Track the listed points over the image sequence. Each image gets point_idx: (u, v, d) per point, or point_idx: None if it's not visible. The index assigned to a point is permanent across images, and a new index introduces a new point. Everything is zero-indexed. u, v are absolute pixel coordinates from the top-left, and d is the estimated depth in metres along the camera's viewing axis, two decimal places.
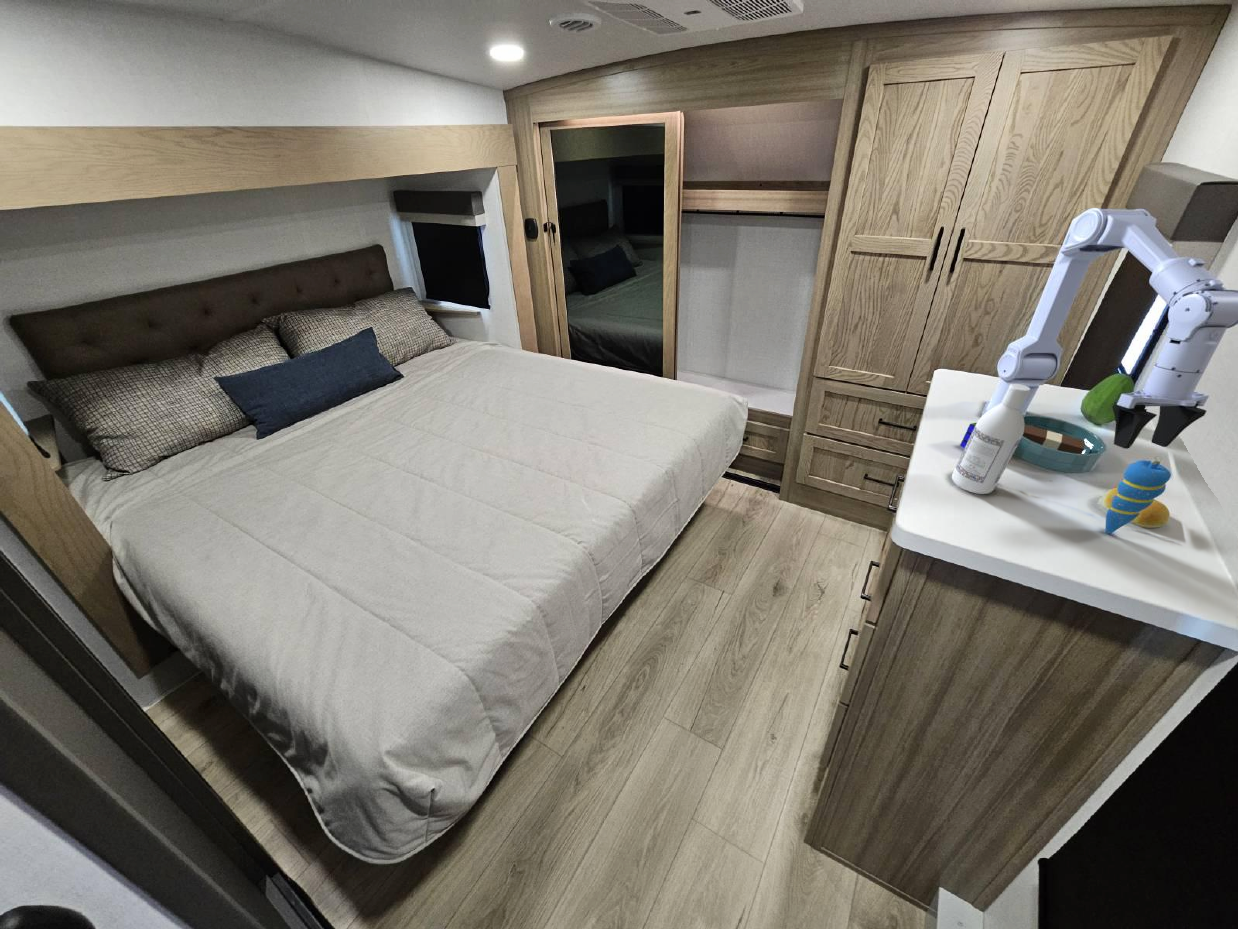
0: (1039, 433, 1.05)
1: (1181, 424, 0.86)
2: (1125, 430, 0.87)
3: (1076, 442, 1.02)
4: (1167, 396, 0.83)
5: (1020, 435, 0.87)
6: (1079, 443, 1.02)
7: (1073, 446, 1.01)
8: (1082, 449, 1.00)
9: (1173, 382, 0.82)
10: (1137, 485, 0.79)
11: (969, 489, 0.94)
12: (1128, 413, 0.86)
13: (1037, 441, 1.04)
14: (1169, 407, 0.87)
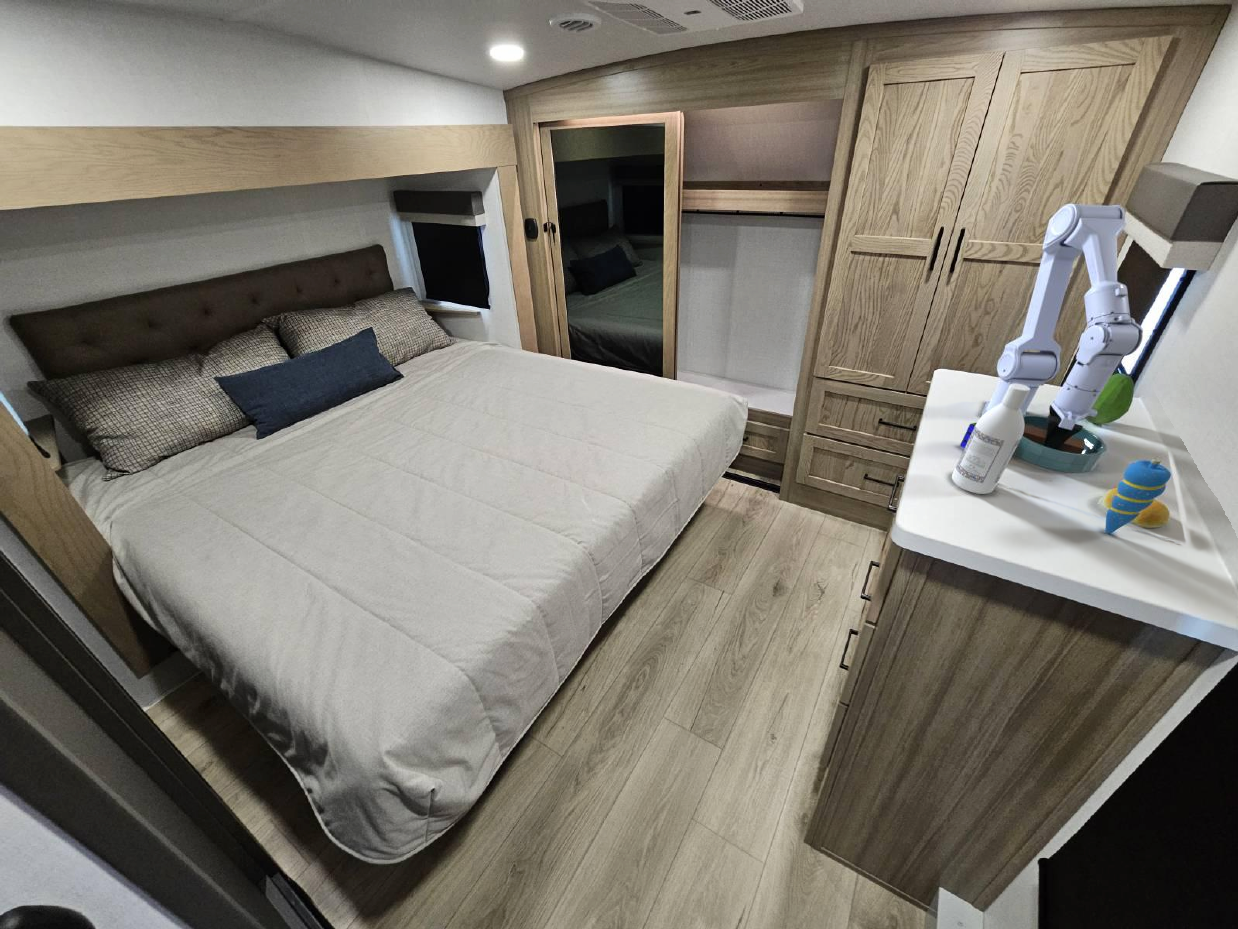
0: (1039, 433, 1.05)
1: None
2: (1054, 439, 1.02)
3: (1076, 442, 1.02)
4: (1084, 411, 0.98)
5: (1020, 435, 0.87)
6: (1079, 443, 1.02)
7: (1073, 446, 1.01)
8: (1082, 449, 1.00)
9: (1090, 400, 0.96)
10: (1137, 485, 0.79)
11: (969, 489, 0.94)
12: (1057, 425, 1.01)
13: (1037, 441, 1.05)
14: None
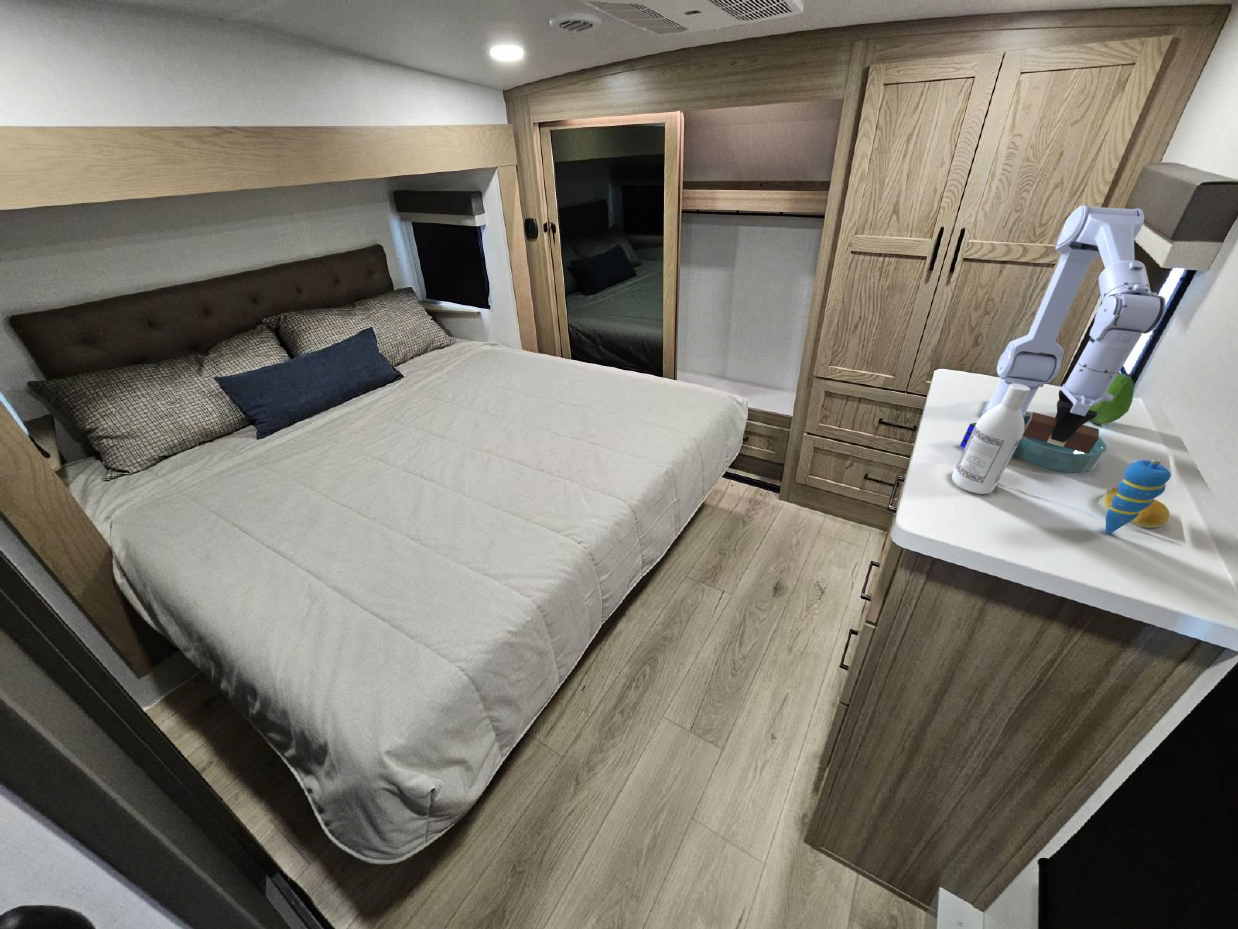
0: (1048, 421, 0.94)
1: None
2: (1064, 427, 0.91)
3: (1089, 431, 0.92)
4: (1098, 395, 0.87)
5: (1020, 435, 0.87)
6: (1092, 432, 0.91)
7: (1086, 435, 0.91)
8: (1096, 438, 0.90)
9: (1105, 383, 0.86)
10: (1137, 485, 0.79)
11: (969, 489, 0.94)
12: (1068, 412, 0.90)
13: (1045, 430, 0.94)
14: (1069, 397, 0.93)
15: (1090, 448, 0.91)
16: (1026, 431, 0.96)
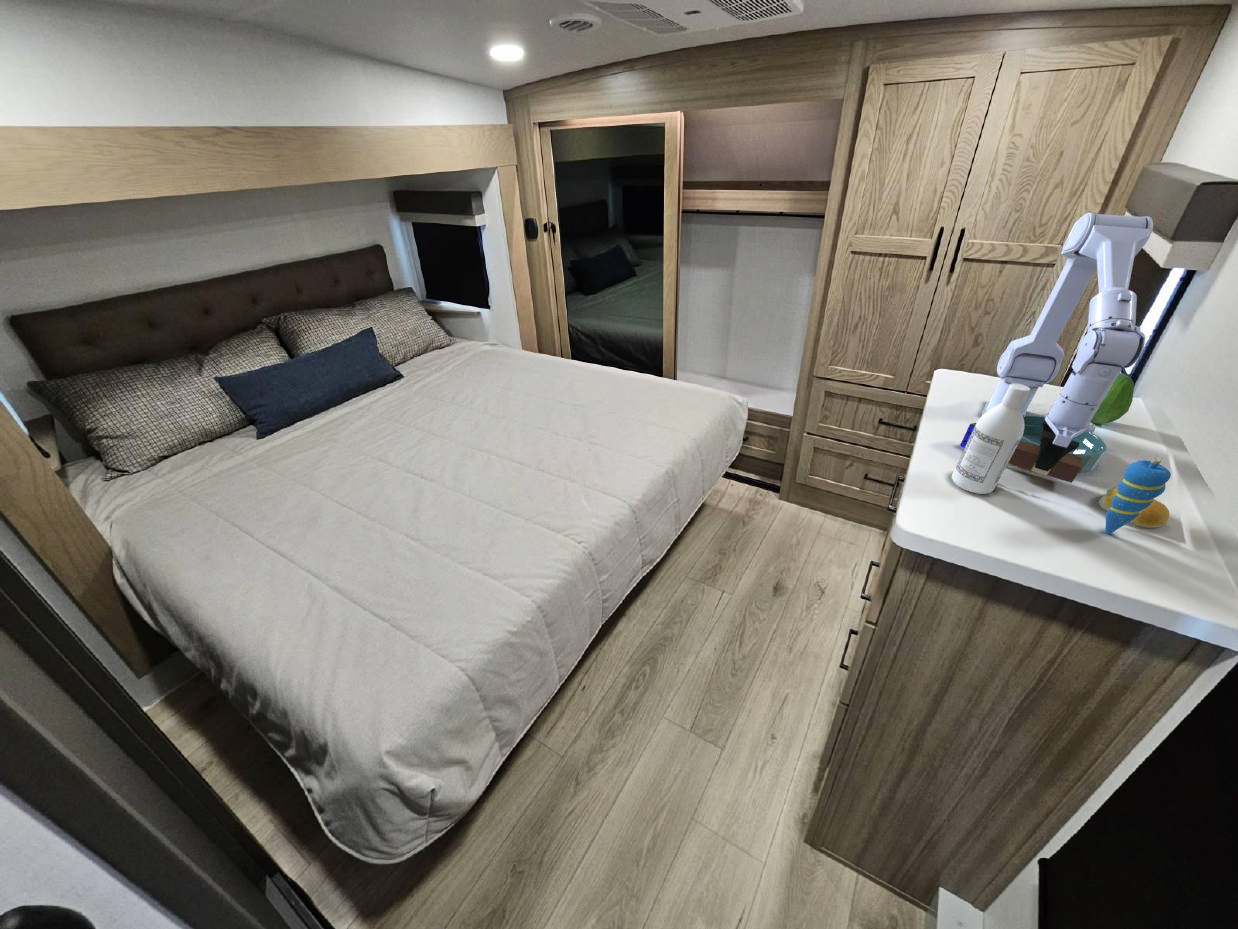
0: (1032, 450, 0.96)
1: None
2: (1048, 456, 0.93)
3: (1073, 460, 0.93)
4: (1080, 426, 0.89)
5: (1020, 435, 0.87)
6: (1075, 461, 0.93)
7: (1069, 465, 0.92)
8: (1079, 468, 0.91)
9: (1087, 415, 0.87)
10: (1137, 485, 0.79)
11: (969, 489, 0.94)
12: (1051, 442, 0.92)
13: (1030, 458, 0.95)
14: None
15: (1073, 477, 0.92)
16: (1011, 459, 0.97)
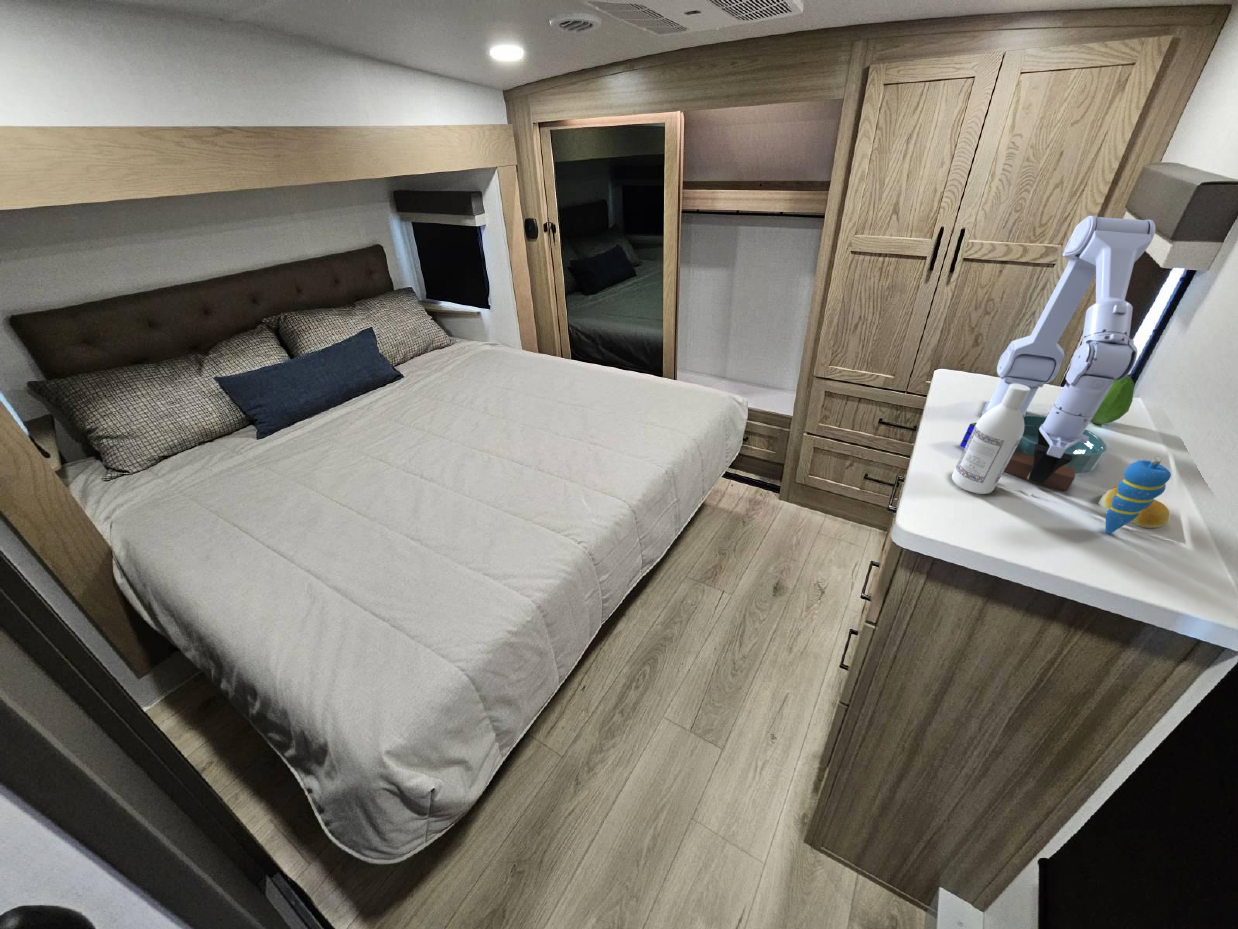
0: (1026, 460, 0.97)
1: None
2: (1042, 469, 0.93)
3: (1066, 471, 0.94)
4: (1074, 437, 0.90)
5: (1020, 435, 0.87)
6: (1069, 472, 0.94)
7: (1063, 475, 0.93)
8: (1072, 479, 0.93)
9: (1080, 426, 0.89)
10: (1137, 485, 0.79)
11: (969, 489, 0.94)
12: (1044, 455, 0.92)
13: (1024, 469, 0.97)
14: None
15: (1066, 488, 0.94)
16: (1005, 469, 0.99)
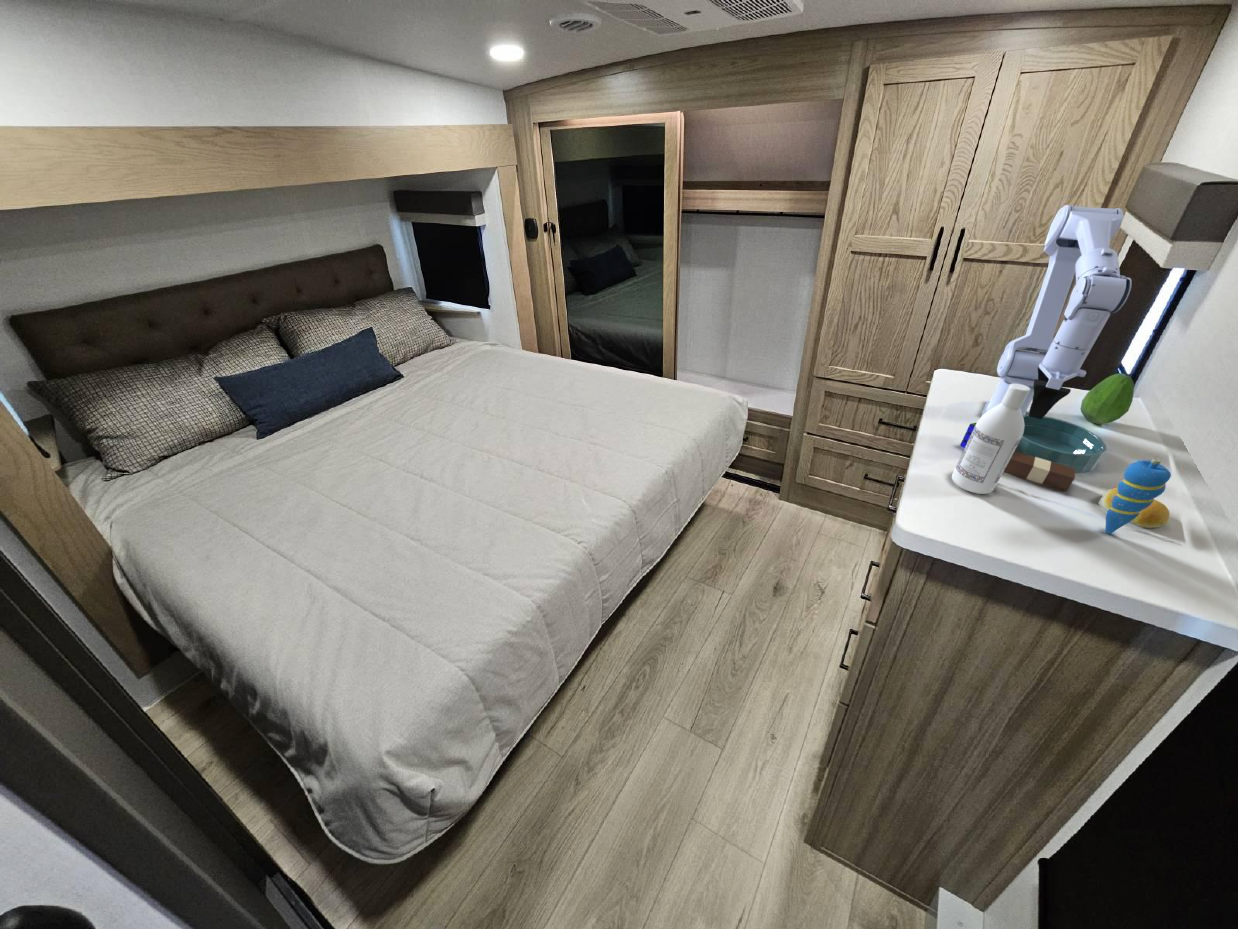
0: (1026, 460, 0.97)
1: None
2: (1041, 404, 0.97)
3: (1066, 471, 0.94)
4: (1072, 371, 0.94)
5: (1020, 435, 0.87)
6: (1069, 472, 0.94)
7: (1063, 475, 0.93)
8: (1072, 479, 0.93)
9: (1078, 359, 0.93)
10: (1137, 485, 0.79)
11: (969, 489, 0.94)
12: (1044, 389, 0.96)
13: (1024, 469, 0.97)
14: None
15: (1066, 488, 0.94)
16: (1005, 469, 0.99)
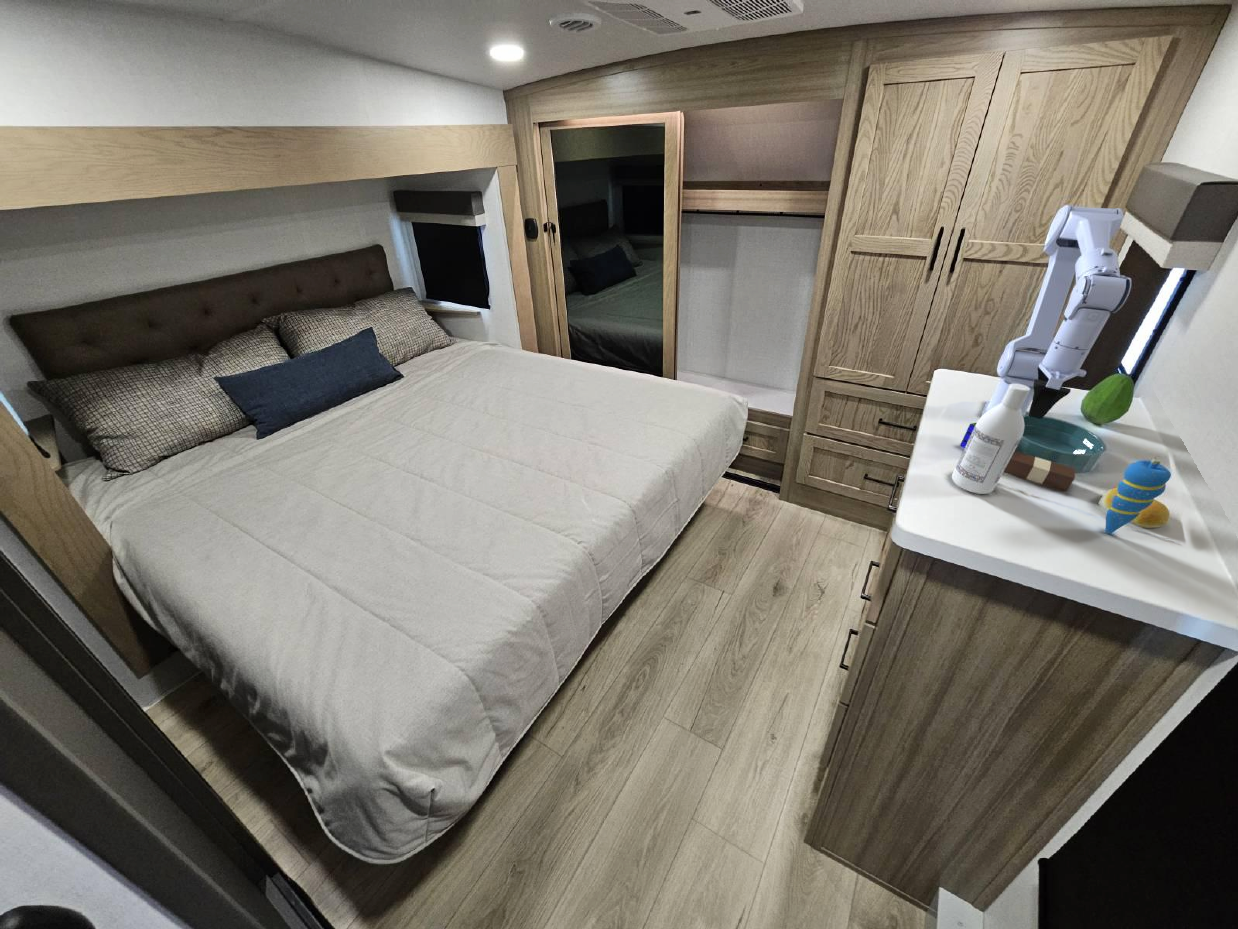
0: (1026, 460, 0.97)
1: None
2: (1041, 404, 0.97)
3: (1066, 471, 0.94)
4: (1072, 371, 0.94)
5: (1020, 435, 0.87)
6: (1069, 472, 0.94)
7: (1063, 475, 0.93)
8: (1072, 479, 0.93)
9: (1078, 359, 0.93)
10: (1137, 485, 0.79)
11: (969, 489, 0.94)
12: (1044, 389, 0.96)
13: (1024, 469, 0.97)
14: None
15: (1066, 488, 0.94)
16: (1005, 469, 0.99)
